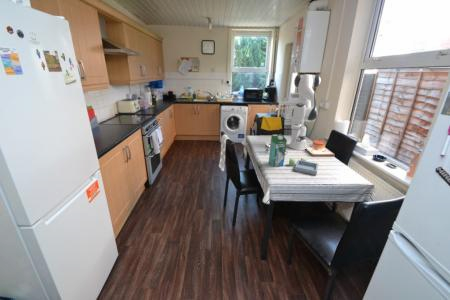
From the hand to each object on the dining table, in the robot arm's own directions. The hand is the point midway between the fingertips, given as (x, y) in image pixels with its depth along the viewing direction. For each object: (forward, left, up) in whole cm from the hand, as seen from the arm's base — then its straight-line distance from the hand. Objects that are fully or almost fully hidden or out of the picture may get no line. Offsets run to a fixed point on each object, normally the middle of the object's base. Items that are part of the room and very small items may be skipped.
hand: (294, 141), depth 165 cm
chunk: (-9, +8, -21) cm, 24 cm away
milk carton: (+5, -12, -21) cm, 24 cm away
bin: (+2, +12, -21) cm, 24 cm away
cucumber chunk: (0, 0, -21) cm, 21 cm away
